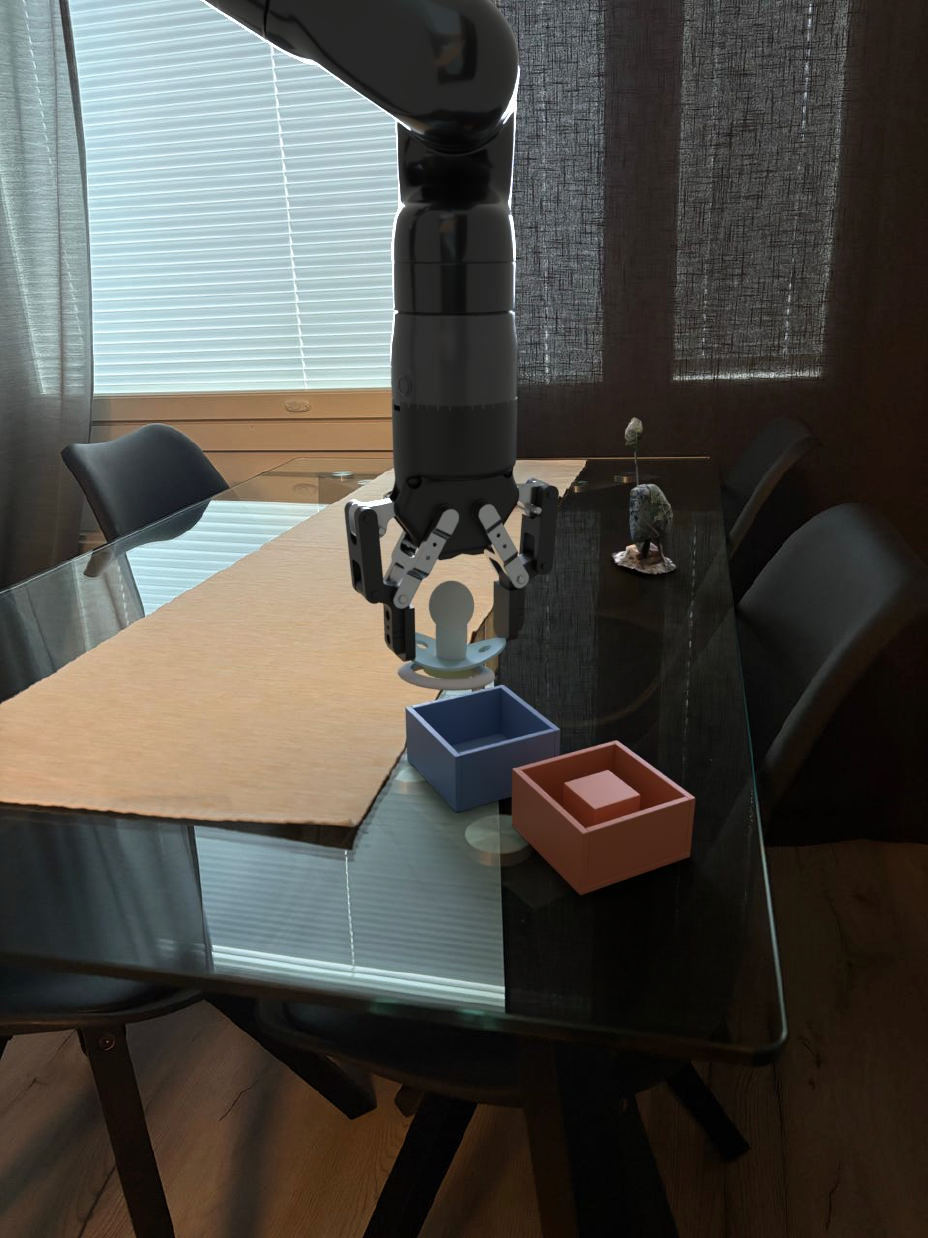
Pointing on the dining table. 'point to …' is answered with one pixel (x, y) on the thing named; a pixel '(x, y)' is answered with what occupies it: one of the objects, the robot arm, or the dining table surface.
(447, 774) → the blue bin
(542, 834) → the terracotta bin
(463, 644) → the pacifier
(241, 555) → the dining table surface
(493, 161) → the robot arm
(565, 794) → the block
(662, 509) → the plant with pod
